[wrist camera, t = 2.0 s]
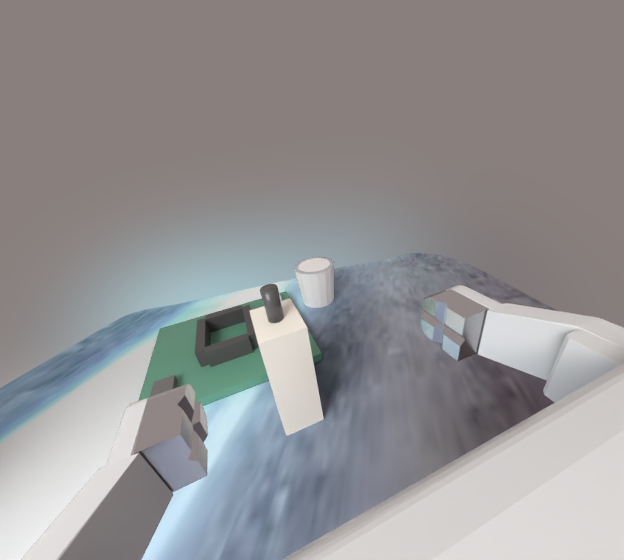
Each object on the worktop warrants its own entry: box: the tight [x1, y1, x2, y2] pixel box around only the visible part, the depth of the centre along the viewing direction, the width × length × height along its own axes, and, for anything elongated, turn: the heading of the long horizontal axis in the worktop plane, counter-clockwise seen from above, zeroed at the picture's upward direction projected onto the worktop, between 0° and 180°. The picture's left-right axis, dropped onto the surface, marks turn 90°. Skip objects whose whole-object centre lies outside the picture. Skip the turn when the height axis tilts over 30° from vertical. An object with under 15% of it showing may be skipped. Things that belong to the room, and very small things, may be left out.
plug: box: [250, 284, 324, 436], centre depth 24 cm, size 4×5×15 cm
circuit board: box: [139, 292, 323, 406], centre depth 37 cm, size 22×18×4 cm
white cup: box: [294, 257, 334, 308], centre depth 44 cm, size 7×7×7 cm
